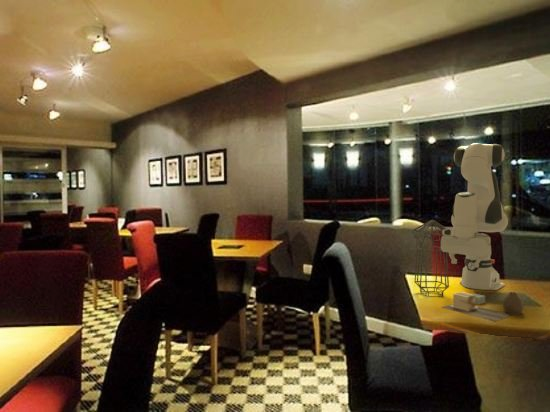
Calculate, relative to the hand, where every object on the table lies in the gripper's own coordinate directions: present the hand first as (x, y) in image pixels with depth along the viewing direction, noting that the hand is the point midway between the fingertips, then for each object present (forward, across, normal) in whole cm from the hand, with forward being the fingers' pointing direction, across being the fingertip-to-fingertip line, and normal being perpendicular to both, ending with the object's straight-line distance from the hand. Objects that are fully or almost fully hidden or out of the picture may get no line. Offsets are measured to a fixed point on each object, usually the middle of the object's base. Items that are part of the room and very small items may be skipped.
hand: (464, 265), depth 169 cm
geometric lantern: (+19, +22, -10) cm, 30 cm away
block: (+17, 0, 0) cm, 17 cm away
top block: (+18, +1, -11) cm, 21 cm away
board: (+18, -6, +2) cm, 19 cm away
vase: (+18, -15, -9) cm, 25 cm away
